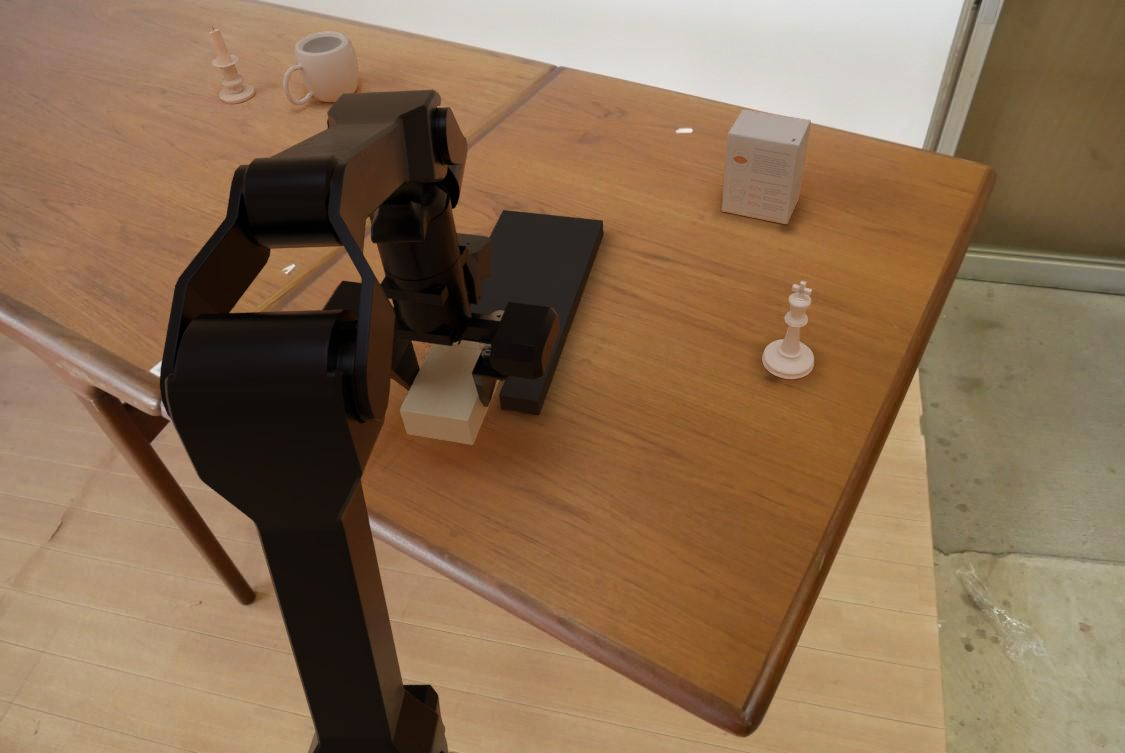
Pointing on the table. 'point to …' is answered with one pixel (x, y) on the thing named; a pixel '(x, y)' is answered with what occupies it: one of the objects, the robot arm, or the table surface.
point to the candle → (229, 72)
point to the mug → (324, 67)
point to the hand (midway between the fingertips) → (453, 397)
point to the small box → (764, 165)
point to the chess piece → (791, 340)
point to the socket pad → (538, 283)
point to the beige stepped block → (446, 395)
